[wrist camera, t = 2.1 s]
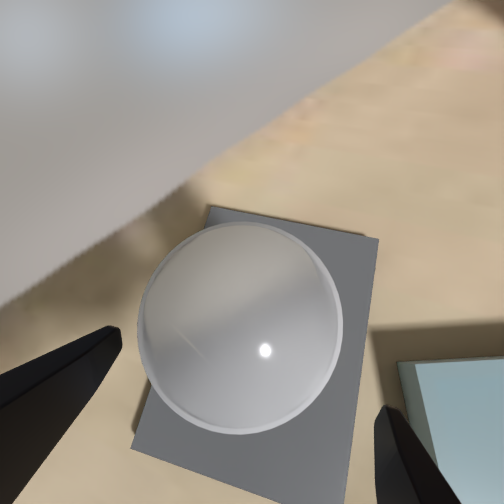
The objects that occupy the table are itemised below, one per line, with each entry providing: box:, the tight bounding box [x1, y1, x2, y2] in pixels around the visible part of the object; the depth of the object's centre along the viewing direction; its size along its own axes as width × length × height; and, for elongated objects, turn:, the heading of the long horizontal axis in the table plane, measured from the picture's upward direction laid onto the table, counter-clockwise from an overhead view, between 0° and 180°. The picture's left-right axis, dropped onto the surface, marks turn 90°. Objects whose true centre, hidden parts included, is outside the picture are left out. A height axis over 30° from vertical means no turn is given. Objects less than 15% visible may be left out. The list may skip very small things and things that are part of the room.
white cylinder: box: [137, 222, 343, 435], centre depth 12 cm, size 5×5×12 cm
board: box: [130, 206, 379, 504], centre depth 17 cm, size 16×12×3 cm
